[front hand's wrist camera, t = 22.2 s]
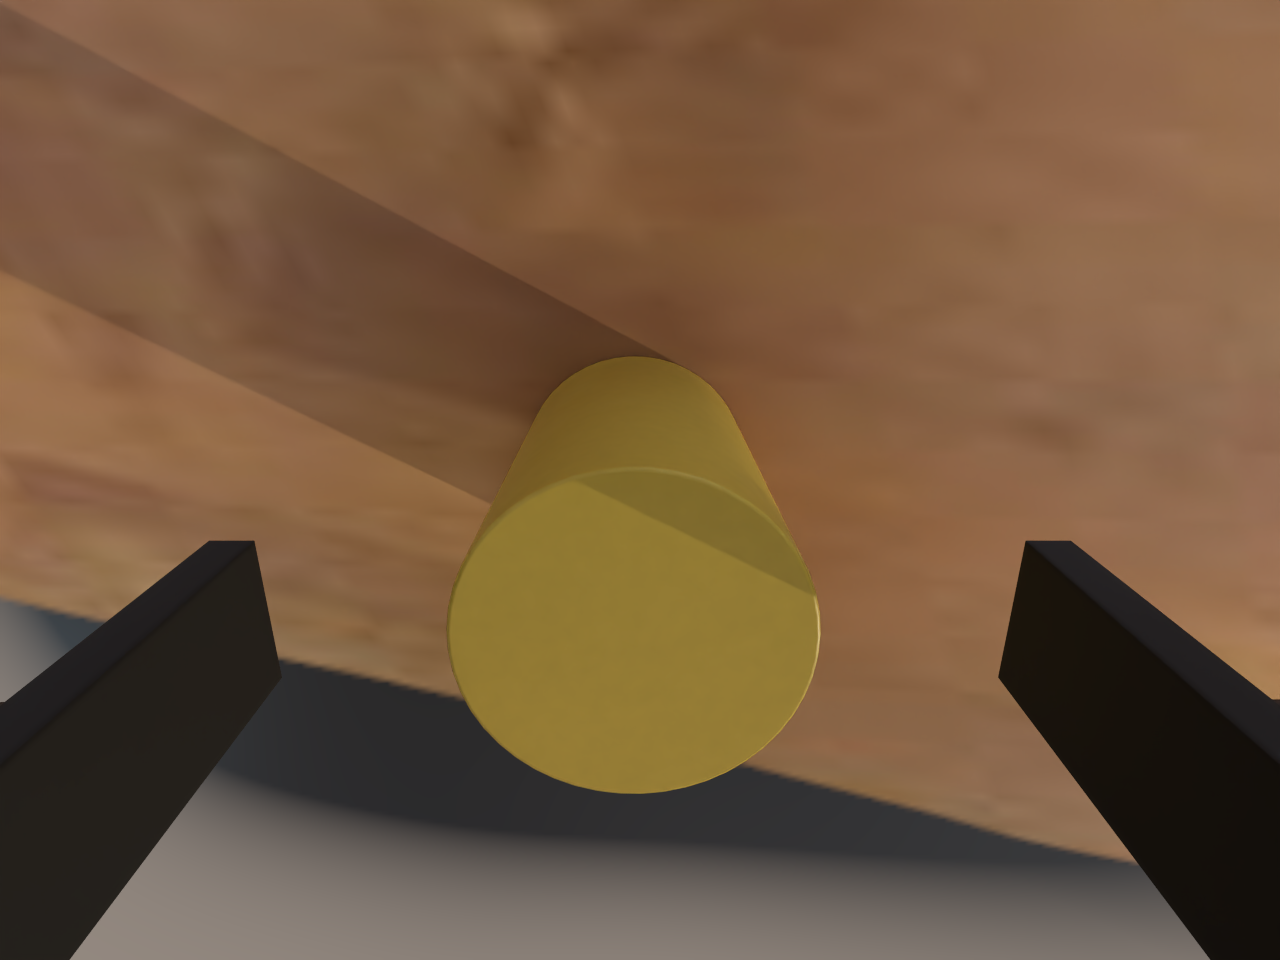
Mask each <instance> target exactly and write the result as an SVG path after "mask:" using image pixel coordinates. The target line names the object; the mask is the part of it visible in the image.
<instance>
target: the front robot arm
mask: <svg viewBox="0 0 1280 960" xmlns="http://www.w3.org/2000/svg"><path fill="white" fill-rule="evenodd" d="M281 678H282V676H281V671H280V666H279V661H278V656H277V651H276V646H275V641H274V636H273V631H272V626H271V621H270V616H269V612H268V607H267V602H266V597H265V592H264V587H263V582H262V577H261V572H260V567H259V562H258V557H257V552H256V547H255V542H254V541H208V542H207V543H206V544H205V545H203V546H202V547H201V548H199V549H198V550H197V551H196V552H194V553H193V554H192V555H191V556H189V557H188V558H187V559H186V560H184V561H183V562H182V563H180V564H179V565H178V566H177V567H175V568H174V569H173V570H172V571H170V572H169V573H168V574H167V575H165V576H164V577H163V578H161V579H160V580H159V581H158V582H156V583H155V584H154V585H153V586H151V587H150V588H149V589H148V590H146V591H145V592H144V593H142V594H141V595H140V596H139V597H137V598H136V599H135V600H134V601H132V602H131V603H130V604H129V605H127V606H126V607H125V608H123V609H122V610H121V611H120V612H118V613H117V614H116V615H115V616H113V617H112V618H111V619H109V620H108V621H107V622H106V623H104V624H103V625H102V626H101V627H99V628H98V629H97V630H96V631H94V632H93V633H92V634H90V635H89V636H88V637H87V638H86V639H84V640H83V641H82V642H80V643H79V644H78V645H77V646H75V647H74V648H73V649H71V650H70V651H69V652H68V653H66V654H65V655H64V656H63V657H61V658H60V659H59V660H58V661H56V662H55V663H54V664H53V665H51V666H50V667H49V668H47V669H46V670H45V671H44V672H42V673H41V674H40V675H39V676H37V677H36V678H35V679H33V680H32V681H31V682H30V683H28V684H27V685H26V686H25V687H23V688H22V689H21V690H20V691H18V692H17V693H16V694H15V695H13V696H12V697H11V698H9V699H8V700H7V701H6V702H0V960H70V958H71V957H72V956H73V954H74V953H75V952H76V950H77V949H78V948H79V946H80V945H81V944H82V942H83V941H84V940H85V938H86V937H87V936H88V934H89V933H90V932H91V930H92V929H93V928H94V926H95V925H96V924H97V922H98V921H99V920H100V918H101V917H102V916H103V914H104V913H105V912H106V910H107V909H108V908H109V906H110V905H111V904H112V903H113V901H114V900H115V899H116V897H117V896H118V895H119V893H120V892H121V890H122V889H123V888H124V887H125V885H126V884H127V883H128V881H129V880H130V879H131V877H132V876H133V875H134V873H135V872H136V871H137V869H138V868H139V867H140V865H141V864H142V863H143V861H144V860H145V859H146V857H147V856H148V855H149V853H150V852H151V851H152V849H153V848H154V847H155V845H156V844H157V843H158V841H159V840H160V839H161V837H162V836H163V835H164V833H165V832H166V831H167V829H168V828H169V827H170V825H171V824H172V823H173V821H174V820H175V819H176V817H177V816H178V815H179V813H180V812H181V811H182V809H183V808H184V807H185V805H186V804H187V803H188V801H189V800H190V799H191V797H192V796H193V795H194V793H195V792H196V791H197V789H198V788H199V787H200V785H201V784H202V783H203V781H204V780H205V779H206V777H207V776H208V775H209V773H210V772H211V771H212V769H213V768H214V767H215V766H216V764H217V763H218V761H219V760H220V759H221V757H222V756H223V755H224V753H225V752H226V751H227V750H228V748H229V747H230V746H231V744H232V743H233V742H234V740H235V739H236V738H237V736H238V735H239V733H240V732H241V731H242V730H243V728H244V727H245V726H246V724H247V723H248V722H249V720H250V719H251V718H252V716H253V715H254V714H255V712H256V711H257V710H258V708H259V707H260V706H261V704H262V703H263V702H264V700H265V699H266V698H267V696H268V695H269V694H270V692H271V691H272V690H273V688H274V687H275V686H276V684H277V683H278V682H279V680H280V679H281ZM998 678H999V679H1000V680H1001V682H1002V683H1003V684H1004V686H1005V687H1006V688H1007V690H1008V691H1009V692H1010V694H1011V695H1012V696H1013V698H1014V699H1015V700H1016V702H1017V703H1018V704H1019V706H1020V707H1021V708H1022V710H1023V711H1024V712H1025V714H1026V715H1027V716H1028V718H1029V719H1030V720H1031V722H1032V723H1033V724H1034V726H1035V727H1036V728H1037V730H1038V731H1039V732H1040V734H1041V735H1042V736H1043V738H1044V739H1045V740H1046V742H1047V743H1048V744H1049V746H1050V747H1051V748H1052V750H1053V751H1054V752H1055V754H1056V755H1057V756H1058V758H1059V759H1060V760H1061V762H1062V763H1063V764H1064V766H1065V767H1066V768H1067V770H1068V771H1069V772H1070V773H1071V775H1072V776H1073V777H1074V779H1075V780H1076V781H1077V783H1078V784H1079V785H1080V787H1081V788H1082V789H1083V791H1084V792H1085V793H1086V795H1087V796H1088V797H1089V799H1090V800H1091V801H1092V803H1093V804H1094V805H1095V807H1096V808H1097V809H1098V811H1099V812H1100V813H1101V815H1102V816H1103V817H1104V819H1105V820H1106V821H1107V823H1108V824H1109V825H1110V827H1111V828H1112V829H1113V831H1114V832H1115V833H1116V835H1117V836H1118V837H1119V839H1120V840H1121V841H1122V843H1123V844H1124V845H1125V847H1126V848H1127V849H1128V851H1129V852H1130V853H1131V855H1132V856H1133V857H1134V859H1135V860H1136V861H1137V863H1138V864H1139V865H1140V867H1141V868H1142V869H1143V871H1144V872H1145V873H1146V875H1147V876H1148V877H1149V879H1150V880H1151V881H1152V883H1153V884H1154V885H1155V886H1156V888H1157V889H1158V891H1159V892H1160V893H1161V895H1162V896H1163V897H1164V899H1165V900H1166V901H1167V903H1168V904H1169V905H1170V906H1171V908H1172V909H1173V910H1174V912H1175V913H1176V914H1177V916H1178V917H1179V918H1180V920H1181V921H1182V922H1183V924H1184V925H1185V926H1186V928H1187V929H1188V930H1189V932H1190V933H1191V934H1192V936H1193V937H1194V938H1195V940H1196V941H1197V942H1198V944H1199V945H1200V946H1201V948H1202V949H1203V950H1204V952H1205V953H1206V954H1207V956H1208V957H1209V958H1210V960H1280V700H1272V699H1271V698H1269V697H1268V696H1267V695H1266V694H1264V693H1263V692H1262V691H1260V690H1259V689H1258V688H1257V687H1255V686H1254V685H1253V684H1252V683H1250V682H1249V681H1248V680H1247V679H1245V678H1244V677H1243V676H1241V675H1240V674H1239V673H1238V672H1236V671H1235V670H1234V669H1233V668H1231V667H1230V666H1229V665H1228V664H1226V663H1225V662H1224V661H1222V660H1221V659H1220V658H1219V657H1217V656H1216V655H1215V654H1214V653H1212V652H1211V651H1210V650H1209V649H1207V648H1206V647H1205V646H1203V645H1202V644H1201V643H1200V642H1198V641H1197V640H1196V639H1195V638H1193V637H1192V636H1191V635H1190V634H1188V633H1187V632H1186V631H1184V630H1183V629H1182V628H1181V627H1179V626H1178V625H1177V624H1176V623H1174V622H1173V621H1172V620H1171V619H1169V618H1168V617H1167V616H1165V615H1164V614H1163V613H1162V612H1160V611H1159V610H1158V609H1157V608H1155V607H1154V606H1153V605H1151V604H1150V603H1149V602H1148V601H1146V600H1145V599H1144V598H1143V597H1141V596H1140V595H1139V594H1138V593H1136V592H1135V591H1134V590H1132V589H1131V588H1130V587H1129V586H1127V585H1126V584H1125V583H1124V582H1122V581H1121V580H1120V579H1119V578H1117V577H1116V576H1115V575H1113V574H1112V573H1111V572H1110V571H1108V570H1107V569H1106V568H1105V567H1103V566H1102V565H1101V564H1100V563H1098V562H1097V561H1096V560H1094V559H1093V558H1092V557H1091V556H1089V555H1088V554H1087V553H1086V552H1084V551H1083V550H1082V549H1081V548H1079V547H1078V546H1077V545H1075V544H1074V543H1073V542H1072V541H1026V542H1025V547H1024V552H1023V557H1022V562H1021V567H1020V572H1019V577H1018V582H1017V587H1016V592H1015V597H1014V602H1013V607H1012V612H1011V616H1010V621H1009V626H1008V631H1007V636H1006V641H1005V646H1004V651H1003V656H1002V661H1001V666H1000V671H999V676H998Z"/></svg>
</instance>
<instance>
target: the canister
mask: <svg viewBox="0 0 1280 960" xmlns="http://www.w3.org/2000/svg"><path fill="white" fill-rule="evenodd" d="M446 631H447V644H448V653H449V657H450V662H451V666H452V670H453V673H454V676H455V679H456V681H457V684H458V686H459V689H460V692H461V694H462V696H463V697H464V699H465V701H466V703H467V705H468V706H469V708H470V710H471V712H472V713H473V714H474V716H475V717H476V718H477V720H478V721H479V722H480V724H481V725H482V726H483V728H484V729H485V730H486V731H487V732H488V733H489V734H490V735H491V736H492V737H493V738H494V739H495V740H496V741H497V742H498V743H499V744H500V745H501V746H502V747H504V748H505V749H506V750H507V751H509V752H510V753H511V754H512V755H514V756H515V757H516V758H518V759H520V760H521V761H523V762H524V763H526V764H527V765H529V766H531V767H532V768H534V769H536V770H538V771H540V772H542V773H544V774H546V775H548V776H550V777H552V778H555V779H558V780H561V781H563V782H566V783H569V784H572V785H575V786H579V787H583V788H588V789H592V790H596V791H604V792H613V793H635V794H643V793H654V792H664V791H669V790H674V789H679V788H684V787H688V786H691V785H695V784H698V783H701V782H704V781H707V780H709V779H712V778H714V777H716V776H719V775H721V774H723V773H725V772H728V771H729V770H731V769H733V768H734V767H736V766H738V765H740V764H741V763H743V762H745V761H747V760H748V759H749V758H750V757H752V756H753V755H754V754H756V753H757V752H758V751H760V750H761V749H762V748H764V747H765V746H766V745H767V744H768V743H769V742H770V741H771V740H772V739H773V738H774V737H775V736H776V735H777V734H778V733H779V732H780V731H781V730H782V729H783V727H784V726H785V725H786V724H787V722H788V721H789V720H790V719H791V717H792V716H793V715H794V713H795V711H796V710H797V708H798V706H799V705H800V703H801V701H802V700H803V698H804V696H805V694H806V691H807V689H808V687H809V684H810V682H811V680H812V677H813V673H814V670H815V666H816V662H817V659H818V653H819V645H820V636H821V629H820V611H819V605H818V600H817V595H816V591H815V588H814V585H813V582H812V579H811V576H810V573H809V571H808V569H807V566H806V564H805V562H804V560H803V558H802V556H801V554H800V552H799V550H798V548H797V546H796V544H795V542H794V540H793V538H792V536H791V534H790V532H789V530H788V528H787V526H786V524H785V522H784V520H783V518H782V515H781V513H780V511H779V509H778V507H777V505H776V503H775V501H774V499H773V497H772V495H771V493H770V491H769V489H768V487H767V485H766V483H765V481H764V479H763V477H762V475H761V473H760V471H759V469H758V467H757V465H756V462H755V460H754V458H753V456H752V454H751V452H750V450H749V448H748V446H747V444H746V442H745V440H744V438H743V436H742V434H741V432H740V430H739V428H738V426H737V424H736V422H735V420H734V418H733V416H732V414H731V412H730V410H729V408H728V407H727V405H726V404H725V402H724V401H723V400H722V398H721V397H720V395H719V394H718V393H717V392H716V391H715V390H714V389H713V388H712V387H711V386H710V385H709V384H708V383H706V382H705V381H704V380H703V379H701V378H700V377H699V376H697V375H696V374H694V373H692V372H691V371H689V370H688V369H686V368H683V367H681V366H679V365H677V364H674V363H671V362H668V361H664V360H661V359H656V358H650V357H637V356H628V357H619V358H613V359H608V360H604V361H600V362H598V363H595V364H593V365H590V366H588V367H585V368H584V369H582V370H580V371H578V372H576V373H575V374H573V375H572V376H570V377H569V378H568V379H566V380H565V381H564V382H562V383H561V384H560V385H559V386H558V387H557V388H556V389H555V390H554V391H553V392H552V393H551V394H550V396H549V397H548V398H547V400H546V401H545V402H544V404H543V405H542V407H541V409H540V410H539V412H538V414H537V416H536V418H535V420H534V422H533V423H532V425H531V427H530V429H529V431H528V433H527V435H526V437H525V439H524V441H523V443H522V445H521V447H520V449H519V451H518V453H517V455H516V457H515V459H514V461H513V463H512V465H511V467H510V469H509V471H508V473H507V475H506V477H505V479H504V481H503V483H502V485H501V487H500V489H499V491H498V493H497V495H496V497H495V499H494V501H493V503H492V505H491V507H490V509H489V511H488V513H487V515H486V517H485V519H484V521H483V523H482V525H481V527H480V529H479V531H478V533H477V535H476V537H475V539H474V541H473V543H472V545H471V547H470V549H469V551H468V553H467V555H466V557H465V559H464V561H463V563H462V565H461V567H460V569H459V572H458V574H457V577H456V579H455V582H454V585H453V588H452V592H451V597H450V601H449V605H448V614H447V627H446Z"/></svg>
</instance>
